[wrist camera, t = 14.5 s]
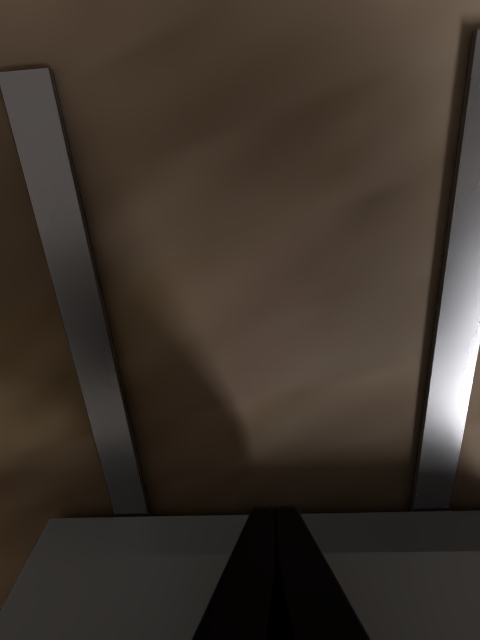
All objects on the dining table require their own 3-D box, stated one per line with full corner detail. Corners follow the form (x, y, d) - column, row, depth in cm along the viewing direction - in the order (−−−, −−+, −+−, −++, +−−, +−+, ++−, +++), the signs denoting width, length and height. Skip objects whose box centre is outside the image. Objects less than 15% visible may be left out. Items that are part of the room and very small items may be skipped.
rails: (531, 26, 6) (537, 23, 6) (398, 780, 15) (399, 786, 15) (2, 73, 7) (-4, 72, 6) (186, 775, 16) (185, 781, 16)
